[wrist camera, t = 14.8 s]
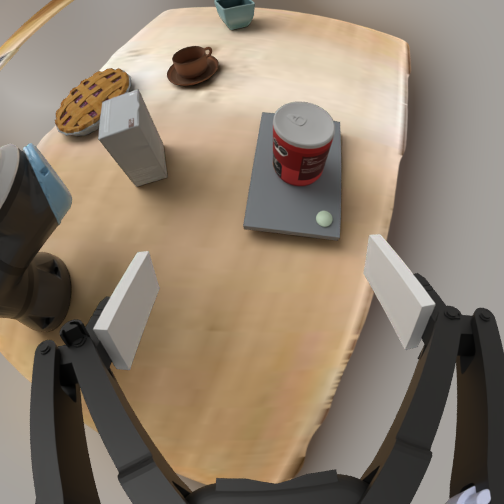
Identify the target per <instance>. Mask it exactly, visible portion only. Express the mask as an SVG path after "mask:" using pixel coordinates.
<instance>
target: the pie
mask: <svg viewBox="0 0 504 504" xmlns="http://www.w3.org/2000/svg"><path fill="white" fill-rule="evenodd" d="M130 87H131V78H130V76H129V75H128V74H127V73H126V72H125V71H122V70H121V69H119V68H118V69H116V70H114V69H112V68H110V69H106V70H105V71H103V72H100V71H98V72H96V73H95V74H94V75H93V76H91V77H90V78H88V79H85V80H83V81H81V83H80V85H79V86H78V87H75V88H73V89H72V90H71V91H70V94H69V95H68V97H67V98H65V99H64V100H63V101H62V102H61V107H60V109H58V110H57V111H56V120H55V124H56V126H57V129H58V131H59V132H61V133H63V134H65V135H74V136H82V135H88V134H90V133H91V132H93V131H95V130H97V129H99V125H100V116H101V108H102V103H103V102H104V101H107V100H109V99H112V98H114V97H117V96H120V95H123V94H125V93H128V92H129V89H130Z"/></svg>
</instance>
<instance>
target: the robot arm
mask: <svg viewBox="0 0 504 504" xmlns="http://www.w3.org/2000/svg"><path fill="white" fill-rule="evenodd" d="M71 204H72V196H71V194H70V192H69V190H68V189H67V187H66V186H65V184H64V183H63V181H62V180H61V179H60V177H59V176H58V175H57V173H56V172H55V171H54V169H53V168H52V167H51V165H50V164H49V163H48V161H47V160H46V159H45V157H44V156H43V155H42V154H41V152H40V151H39V150H38V149H37V148H36V147H35V146H34V145H33V144H32V143H31V144H28V145H27V146H25V147H24V148H23V151H21V150H20V149H19V148H18V147H17V146H15V145H13V144H7V145H4V146H2V147H0V317H2V318H11V319H16V320H18V321H19V322H21V323H23V324H24V325H26V326H28V327H29V328H31V329H33V330H36V331H46V332H47V331H52V330H54V329H55V328H57V327H58V326H59V325H60V324H61V323H62V321H63V320H64V318H65V316H66V314H67V311H68V308H69V304H70V298H71V282H70V277H69V273H68V270H67V268H66V266H65V264H64V263H63V262H62V260H61V259H59V258H58V257H57V256H54V255H52V254H50V253H46V252H38V251H39V250H40V249H41V247H42V246H43V245H44V243H45V242H46V241H47V239H48V238H49V237H50V235H51V234H52V233H53V231H54V230H55V229H56V227H57V226H58V225H60V223H61V220H62V219H63V217H64V216H65V214H66V213H67V212H68V210H69V209H70V207H71ZM364 275H365V277H366V279H367V280H368V282H369V284H370V285H371V287H372V289H373V291H374V293H375V294H376V296H377V298H378V300H379V302H380V303H381V305H382V307H383V309H384V311H385V313H386V314H387V316H388V318H389V320H390V322H391V324H392V326H393V327H394V330H395V332H396V334H397V335H398V337H399V339H400V341H401V343H402V345H403V347H404V349H405V350H407V349H411V348H416V347H418V345H419V343H420V341H421V338H422V340H423V342H424V346H423V349H422V351H421V353H420V355H419V357H418V359H419V361H418V363H417V366H416V369H415V372H414V375H413V377H412V380H411V383H410V385H409V388H408V390H407V392H406V395H405V397H404V400H403V402H402V404H401V407H400V409H399V411H398V413H397V415H396V418H395V420H394V422H393V424H392V426H391V428H390V430H389V432H388V434H387V436H386V438H385V440H384V442H383V444H382V446H381V447H380V449H379V451H378V453H377V455H376V456H375V458H374V460H373V461H372V463H371V465H370V466H369V467H368V468H367V470H366V471H365V473H364V474H363V476H362V477H361V479H358V478H355V477H352V476H348V475H341V474H337V472H336V470H329V471H324V472H318V473H311V474H306V475H303V476H300V477H297V478H295V479H291V480H288V481H285V482H282V483H278V484H274V483H267V482H261V481H256V480H250V479H227V478H216V483H214V484H210V485H206V486H204V487H201V488H199V489H197V490H195V491H194V492H192V491H191V490H190V489H189V488H188V486H187V485H186V484H185V483H184V482H183V481H182V480H181V479H180V478H179V477H178V476H177V475H176V473H175V472H174V471H173V469H172V468H171V467H170V465H169V464H168V463H167V461H166V460H165V459H164V457H163V456H162V454H161V453H160V452H159V450H158V449H157V447H156V446H155V444H154V443H153V441H152V440H151V438H150V437H149V435H148V434H147V432H146V431H145V429H144V428H143V426H142V424H141V423H140V421H139V419H138V418H137V416H136V415H135V413H134V411H133V409H132V408H131V406H130V404H129V402H128V401H127V399H126V397H125V395H124V393H123V392H122V390H121V388H120V386H119V384H118V382H117V380H116V378H115V376H114V374H113V372H112V371H111V369H110V365H111V362H113V364H114V366H115V367H116V369H123V370H130V368H131V365H132V362H133V359H134V356H135V353H136V351H137V348H138V345H139V342H140V339H141V336H142V334H143V331H144V328H145V325H146V323H147V320H148V317H149V315H150V312H151V309H152V307H153V304H154V302H155V299H156V297H157V294H158V292H159V289H160V287H159V284H158V281H157V278H156V274H155V271H154V268H153V264H152V261H151V257H150V254H149V251H145V252H137V254H136V255H135V257H134V259H133V260H132V262H131V263H130V265H129V267H128V268H127V270H126V272H125V273H124V275H123V277H122V278H121V280H120V282H119V283H118V285H117V287H116V288H115V290H114V292H113V294H112V295H111V297H105V298H104V299H103V300H102V301H101V302H100V303H99V305H98V306H97V308H96V311H94V313H93V316H92V317H91V319H90V320H89V322H88V324H87V326H86V328H85V326H84V324H83V323H82V321H80V320H71V321H69V322H67V323H66V324H64V325H63V327H62V328H61V330H60V336H61V338H62V340H63V341H64V343H65V344H66V345H63V346H58V347H57V345H56V344H55V343H54V341H52V340H46V341H44V342H42V343H40V344H39V345H38V347H37V348H36V351H35V357H34V365H33V374H32V387H31V402H30V444H31V460H32V471H33V479H34V487H35V493H36V503H35V504H101V503H100V499H99V496H98V492H97V489H96V485H95V481H94V477H93V472H92V468H91V463H90V458H89V454H88V448H87V442H86V436H85V429H84V422H83V414H82V404H81V393H80V388H81V391H82V394H83V396H84V399H85V401H86V404H87V407H88V409H89V411H90V414H91V416H92V419H93V421H94V423H95V425H96V428H97V430H98V432H99V434H100V436H101V438H102V440H103V443H104V445H105V447H106V449H107V450H108V453H109V455H110V456H111V458H112V460H113V462H114V464H115V466H116V468H117V469H118V471H119V474H118V480H119V482H120V483H121V486H122V487H123V489H124V491H125V492H126V494H127V495H128V497H129V499H130V500H131V502H132V503H133V504H410V503H411V501H412V499H413V497H414V495H415V493H416V491H417V489H418V487H419V485H420V483H421V481H422V479H423V477H424V475H425V472H426V470H427V468H428V466H429V463H430V461H431V458H432V452H431V451H430V449H431V445H432V443H433V440H434V437H435V435H436V432H437V429H438V426H439V423H440V420H441V417H442V414H443V411H444V407H445V404H446V400H447V397H448V393H449V389H450V385H451V381H452V377H453V373H454V368H455V363H456V369H457V426H456V440H455V451H454V459H453V467H452V474H451V481H450V496H449V497H450V499H449V500H448V501H447V502H446V504H504V352H503V347H502V343H501V339H500V335H499V331H498V327H497V324H496V320H495V317H494V315H493V314H492V313H491V312H490V311H489V310H488V309H485V308H478V309H476V310H475V312H474V314H473V316H468V315H462V314H461V313H460V311H459V310H458V309H457V308H454V307H452V306H446V305H445V304H444V302H443V301H442V300H441V298H440V297H439V295H438V294H437V293H436V292H435V290H433V288H432V286H430V284H429V283H428V281H427V280H426V279H425V278H424V277H422V276H421V275H420V274H418V273H417V274H413V273H412V272H411V271H410V270H409V268H408V267H407V266H406V265H405V263H404V262H403V261H402V260H401V258H400V257H399V256H398V255H397V253H396V252H395V251H394V250H393V249H392V248H391V246H390V245H389V244H388V243H387V242H386V240H385V239H384V238H383V237H382V236H381V235H380V234H377V235H369V240H368V247H367V254H366V261H365V268H364Z"/></svg>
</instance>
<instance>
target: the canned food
mask: <svg viewBox="0 0 504 504" xmlns="http://www.w3.org/2000/svg"><path fill="white" fill-rule="evenodd" d="M334 133H335V123H334V121H333V119H332V117H331V116H330V115H329V114H328V112H326V111H325V110H324V109H322V108H321V107H319V106H317V105H314V104H311V103H307V102H292V103H288V104H285V105H283V106H281V107H280V108H279V109H278V110H277V111H276V113H275V115H274V119H273V167H274V170H275V172H276V173H277V175H278V176H279V177H280V178H281V179H282V180H283V181H284V182H286V183H288V184H290V185H294V186H307V185H310V184H312V183H314V182H315V181H316V180H317V179H318V178H319V177H320V176H321V174H322V172H323V169H324V166H325V163H326V160H327V157H328V154H329V151H330V147H331V144H332V141H333V137H334Z"/></svg>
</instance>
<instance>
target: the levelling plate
mask: <svg viewBox="0 0 504 504" xmlns="http://www.w3.org/2000/svg"><path fill="white" fill-rule="evenodd" d="M274 115H275V113H265V112H262V117H261V123H260V128H259V134H258V140H257V146H256V152H255V158H254V164H253V169H252V175H251V181H250V188H249V194H248V200H247V206H246V212H245V218H244V224H243V227H244V229H247V230H256V231H264V232H272V233H281V234H289V235H297V236H305V237H313V238H320V239H328V240H336V241H338V239H339V238H340V220H341V135H340V122H337V121H334V123H335V133H334V137H333V141H332V144H331V147H330V151H329V154H328V157H327V160H326V163H325V166H324V169H323V172H322V174H321V176H320V177H319V178H318V179H317V180H316V181H315V182H314V183H312V184H310V185H307V186H294V185H290V184H288V183H286V182H284V181H283V180H282V179H281V178H280V177H279V176H278V175H277V173H276V172H275V170H274V167H273V119H274Z"/></svg>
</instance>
